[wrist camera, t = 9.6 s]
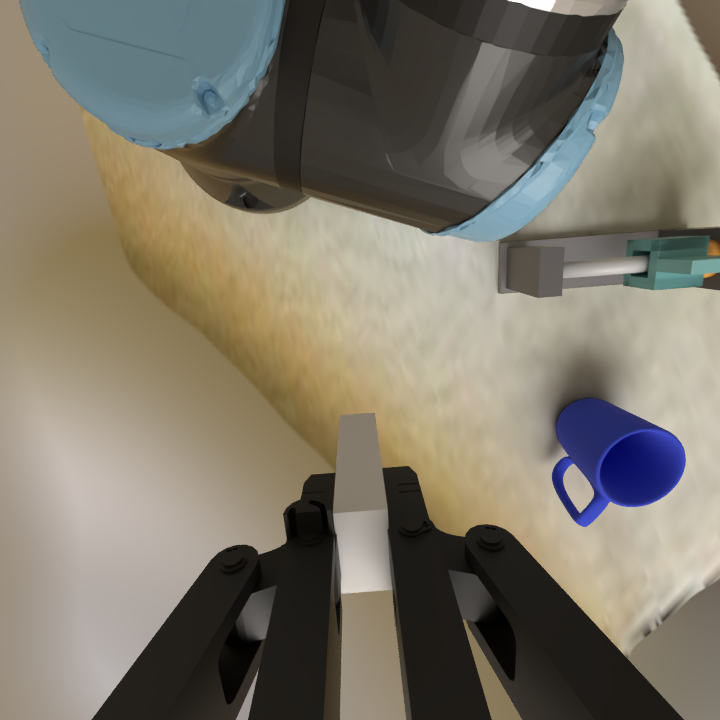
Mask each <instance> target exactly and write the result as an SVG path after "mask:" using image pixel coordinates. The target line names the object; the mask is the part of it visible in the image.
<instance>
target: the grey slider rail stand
mask: <svg viewBox="0 0 720 720" xmlns="http://www.w3.org/2000/svg"><path fill="white" fill-rule="evenodd" d="M674 236H710V240H709V247H708V253H707V255H720V227H703V228H682V229H669V230H657V231H644V232H632V233H619V234H606V235H594V236H581V237H569V238H556V239H544V240H531V241H518V242H506V243H499V289H498V293H500V294H504V293H517V292H520V293H524V294H527V295H531V296H534V297H537V298H541V297H554V296H562V289H567V288H580V287H593V286H605V285H618V284H623V278H624V274H627V273H639V272H648V270H649V261H650V255H644V256H631V257H626V248H627V240H635V239H648V238H660V237H674ZM698 288H706V289H714V290H720V272H719V273H707V274H704V279H703V285H702V286H700V287H698Z"/></svg>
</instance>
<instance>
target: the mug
mask: <svg viewBox="0 0 720 720" xmlns="http://www.w3.org/2000/svg"><path fill="white" fill-rule="evenodd" d="M556 433H557V437H558V440H559V442H560V444H561V445H562V447H563V448H564V450H565V451H566V452H567V454H568V455H569V456H568V457H564V458H562V459H561V460H560V461H559V462H558V463H557V464H556V465H555V467H554V469H553V472H552V481H553V485H554V488H555V490H556V492H557V494H558V496H559V498H560V500H561V502H562V503H563V505H564V506H565V508H566V510H567V511H568V513H569V514H570V516H571V517H572V519H573V520H574V521H575V522H576V523H577V524H579V525H581V526H583V527H586V526H588V525H590V524H591V523H592V522H593V521H594V520H595V519H596V518H597V517H598V516H599V515H600V514H601V512H602V511H603V510H604V509H605V508H606V506H607V505H608V503H609V502H610V501H611V502H613V503H615V504H617V505H621V506H626V507H639V506H644V505H648V504H651V503H653V502H655V501H658V500H659V499H661V498H663V497H664V496H665V495H667V494H668V493H669V492H670V491H671V490H672V489H673V488H674V487H675V486H676V485H677V483H678V482H679V480H680V478H681V476H682V474H683V471H684V468H685V462H686V458H685V451H684V448H683V446H682V444H681V442H680V441H679V440H678V439H677V437H675V436H674V435H673V434H672V433H670V432H669V431H667V430H665V429H663V428H660V427H658V426H656V425H654V424H652V423H650V422H648V421H646V420H644V419H642V418H640V417H638V416H635V415H633V414H631V413H629V412H627V411H625V410H623V409H621V408H619V407H617V406H615V405H613V404H610V403H608V402H606V401H603V400H600V399H594V398H586V399H581V400H577V401H575V402H573V403H571V404H570V405H568V406H567V407H566V408H565V409H564V410H563V411H562V413H561V414H560V416H559V418H558V420H557V424H556ZM573 463H574V464H575V465H576V466H577V467H578V468H579V469H580V470H581V472H582V473H583V474H584V475H585V477H586V478H587V479H588V481H589V482H590V484H591V486H592V488H593V490H594V497H593V499H592V501H591V502H590V503H589V504H588V506H587V507H586V508H585V509H584V510H583V511H582V512H581V513H579V512H578V510H577V509H576V507H575V506H574V504H573V503H572V501H571V500H570V498H569V496H568V495H567V492H566V490H565V488H564V484H563V476H564V473H565V471H566V469H567V468H568V467H569V466H570V465H571V464H573Z"/></svg>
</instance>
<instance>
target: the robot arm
mask: <svg viewBox="0 0 720 720" xmlns="http://www.w3.org/2000/svg"><path fill="white" fill-rule="evenodd" d="M627 1H628V0H19V3H20V7H21V10H22V14H23V17H24V20H25V23H26V25H27V28H28V31H29V33H30V35H31V38H32V40H33V42H34V45H35V46H36V48H37V50H38V51H39V52H40V53H41V54H42V57H43V60H44V61H45V62H46V63H47V64H48V66H49V68H50V69H51V71H52V73H53V76H54V77H55V79H56V80H57V81H58V83H59V84H60V85H61V86H62V88H63V89H65V91H66V92H67V93H68V94H69V95H70V96H71V97H72V98H73V99H74V100H75V101H76V102H77V103H78V104H79V105H80V106H82V107H83V108H84V109H85V110H87V111H88V112H89V113H90V114H92V115H93V116H95V117H96V118H98V119H99V120H101V121H102V122H103V123H105V124H107V126H108V127H109V128H110V129H111V130H112V131H113V132H114V133H116V134H117V135H121V136H123V137H124V138H125V139H126V140H128V141H129V142H132V143H135V144H137V145H140V146H143V147H148V148H154V149H156V150H158V151H160V152H162V153H164V154H166V155H169V156H171V157H173V158H175V159H177V160H179V161H180V162H181V164H182V166H183V167H184V169H185V170H186V172H187V173H188V174H189V176H190V177H191V178H192V179H193V180H194V181H195V182H196V184H197V185H199V186H200V187H201V188H202V189H203V190H204V191H205V192H206V193H208V194H209V195H210V196H212V197H213V198H215V199H216V200H218V201H220V202H221V203H223V204H225V205H228V206H230V207H233V208H236V209H239V210H242V211H246V212H251V213H258V214H270V213H277V212H282V211H285V210H289V209H291V208H293V207H296V206H298V205H299V204H301V203H303V202H304V201H306V200H307V199H308V198H310V197H312V198H316V199H319V200H323V201H326V202H330V203H333V204H337V205H340V206H344V207H347V208H351V209H354V210H357V211H361V212H364V213H368V214H371V215H375V216H378V217H382V218H385V219H389V220H392V221H396V222H399V223H403V224H406V225H409V226H413V227H416V228H420V229H421V230H422V231H423V232H425V233H427V234H430V235H433V236H434V235H438V236H445V235H449V236H453V237H458V238H462V239H466V240H470V241H475V242H490V241H495V240H499V239H502V238H504V237H506V236H509V235H511V234H513V233H515V232H516V231H518V230H519V229H521V228H522V227H524V226H525V225H527V224H528V223H529V222H530V221H532V220H533V219H534V218H535V217H536V216H537V215H539V214H540V213H541V212H542V211H543V210H544V209H545V208H546V207H547V206H548V205H549V204H550V203H551V202H552V200H553V199H554V198H555V197H556V196H557V195H558V194H559V193H560V191H561V190H562V189H563V188H564V186H565V185H566V184H567V183H568V181H569V180H570V179H571V177H572V176H573V175H574V173H575V172H576V171H577V169H578V168H579V166H580V165H581V163H582V162H583V160H584V158H585V157H586V155H587V154H588V152H589V150H590V149H591V147H592V145H593V143H594V142H595V140H596V139H595V135H594V134H593V131H594V129H595V128H596V127H597V125H598V124H599V123H600V122H601V121H602V120H603V119H604V118H605V117H606V116H607V115H608V114H609V112H610V110H611V107H612V105H613V102H614V100H615V97H616V94H617V92H618V88H619V85H620V81H621V76H622V69H623V63H624V55H623V48H622V44H621V41H620V40H619V38H618V37H617V36H616V34H615V31H614V29H613V27H612V26H613V25H614V23H615V21H616V20H617V18H618V17H619V15H620V13H621V12H622V10H623V8H624V7H625V6H626V3H627ZM283 516H284V522H285V529H286V536H287V542H286V543H285V544H284V545H282V546H281V547H279V548H277V549H274V550H272V551H269V552H266V553H263V554H260V555H258V551H257V550H256V549H255V548H253V547H252V546H248V545H236V546H232V547H229V548H226V549H224V550H223V551H221V552H219V553H218V554H217V555H216V556H215V557H214V558H213V559H212V560H211V561H210V562H209V563H208V565H207V566H206V567H205V569H204V570H203V572H202V573H201V574H200V575H199V577H198V578H197V579H196V581H195V582H194V584H193V585H192V586H191V588H190V589H189V590H188V592H187V593H186V594H185V596H184V597H183V598H182V600H181V601H180V602H179V604H178V605H177V607H176V608H175V609H174V610H173V612H172V613H171V614H170V616H169V617H168V618H167V620H166V621H165V622H164V624H163V625H162V626H161V628H160V629H159V630H158V632H157V633H156V634H155V636H154V637H153V638H152V640H151V641H150V642H149V644H148V645H147V647H146V648H145V649H144V650H143V652H142V653H141V654H140V656H139V657H138V658H137V660H136V661H135V662H134V664H133V665H132V666H131V668H130V669H129V670H128V672H127V673H126V674H125V676H124V677H123V679H122V680H121V681H120V683H119V684H118V685H117V686H116V688H115V689H114V690H113V692H112V693H111V695H110V696H109V697H108V699H107V700H106V701H105V703H104V704H103V705H102V707H101V708H100V709H99V711H98V712H97V713H96V715H95V716H94V717H93V719H92V720H236V718H237V716H238V713H239V711H240V709H241V707H242V705H243V702H244V700H245V698H246V696H247V693H248V691H249V689H250V687H251V684H252V682H253V680H254V678H255V676H256V673H257V671H258V669H259V671H258V676H257V681H256V685H255V690H254V694H253V699H252V704H251V709H250V713H249V718H248V720H340V685H341V684H340V683H341V682H340V681H341V642H342V641H341V640H342V603H341V591H342V593H355V592H367V591H380V590H393V604H394V618H395V627H396V631H397V640H398V649H399V658H400V667H401V676H402V684H403V694H404V703H405V712H406V720H492V719H491V716H490V712H489V709H488V706H487V702H486V699H485V695H484V692H483V689H482V685H481V682H480V678H479V675H478V671H477V668H476V664H475V661H474V657H473V654H472V651H471V647H470V644H469V641H468V637H467V633H466V630H465V627H464V623H463V620H462V619H465V620H466V622H467V624H468V627H469V629H470V630H471V632H472V634H473V636H474V637H475V639H476V641H477V642H478V644H479V646H480V648H481V649H482V651H483V653H484V654H485V656H486V658H487V660H488V661H489V663H490V665H491V666H492V668H493V670H494V672H495V673H496V675H497V677H498V678H499V680H500V682H501V684H502V685H503V687H504V689H505V690H506V692H507V694H508V695H509V697H510V699H511V701H512V703H513V704H514V706H515V708H516V709H517V711H518V713H519V715H520V716H521V718H522V720H684V719H683V718H682V717H681V716H680V715H679V714H678V713H677V712H676V711H675V710H674V709H673V707H672V706H671V705H670V704H669V703H668V702H667V701H666V700H665V699H664V698H663V697H662V696H661V695H660V693H659V692H658V691H657V690H656V689H655V688H654V687H653V686H652V685H651V684H650V683H649V682H648V681H647V679H646V678H645V677H644V676H643V675H642V674H641V673H640V672H639V671H638V670H637V669H636V668H635V666H634V665H633V664H632V663H631V662H630V661H629V660H628V659H627V658H626V657H625V656H624V655H623V654H622V652H621V651H620V650H619V649H618V648H617V647H616V646H615V645H614V644H613V643H612V642H611V641H610V640H609V638H608V637H607V636H606V635H605V634H604V633H603V632H602V631H601V630H600V629H599V628H598V627H597V625H596V624H595V623H594V622H593V621H592V620H591V619H590V618H589V617H588V616H587V615H586V614H585V613H584V611H583V610H582V609H581V608H580V607H579V606H578V605H577V604H576V603H575V602H574V601H573V600H572V599H571V597H570V596H569V595H568V594H567V593H566V592H565V591H564V590H563V589H562V588H561V587H560V586H559V584H558V583H557V582H556V581H555V580H554V579H553V578H552V577H551V576H550V575H549V574H548V573H547V572H546V570H545V569H544V568H543V567H542V566H541V565H540V564H539V563H538V562H537V561H536V560H535V559H534V558H533V556H532V555H531V554H530V553H529V552H528V551H527V550H526V549H525V548H524V547H523V546H522V545H521V544H520V542H519V541H518V540H517V539H516V538H515V537H514V536H513V535H512V534H511V533H509V532H508V531H507V530H505V529H503V528H501V527H498V526H494V525H488V524H485V525H477V526H475V527H473V528H470V529H469V531H468V532H467V533H466V535H465V537H461V536H455V535H451V534H447V533H444V532H442V531H440V530H439V529H437V528H436V527H435V525H434V524H433V522H432V521H431V520H430V519H429V516H428V513H427V509H426V506H425V502H424V499H423V495H422V492H421V488H420V484H419V481H418V477H417V474H416V473H415V472H414V471H413V470H412V469H411V468H410V467H409V466H403V467H391V468H382V464H381V456H380V449H379V441H378V434H377V427H376V419H375V413H365V414H352V415H340V419H339V433H338V447H337V461H336V473H327V474H314V475H311V476H310V477H309V478H308V479H307V480H306V481H305V483H304V486H303V491H302V496H301V499H300V500H298V501H296V502H294V503H292V504H291V505H290V506H288V507H287V508H286V510H285V512H284V513H283Z"/></svg>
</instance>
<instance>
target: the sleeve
mask: <svg viewBox="0 0 720 720" xmlns="http://www.w3.org/2000/svg"><path fill="white" fill-rule="evenodd" d="M709 240H710V236H674V237H660V238H648V239H635V240H627V248H626V257H631V256H644V255H650V261H649V270H648V272H639V273H627V274H624V278H623V285H624V286H630V287H637V288H643V289H650V290H662V289H675V288H687V287H700V286H702V285H703V279H704V274H707V273H719V272H720V255H707V253H708V247H709Z"/></svg>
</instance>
